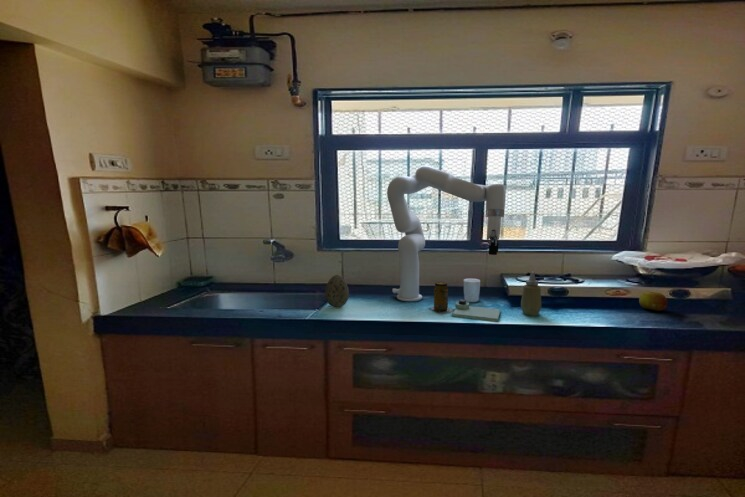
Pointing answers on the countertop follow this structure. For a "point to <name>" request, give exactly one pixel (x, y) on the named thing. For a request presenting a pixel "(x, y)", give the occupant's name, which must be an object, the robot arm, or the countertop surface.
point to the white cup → (471, 289)
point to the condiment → (441, 298)
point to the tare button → (462, 302)
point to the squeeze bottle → (531, 297)
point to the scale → (476, 312)
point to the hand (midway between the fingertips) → (493, 253)
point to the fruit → (653, 301)
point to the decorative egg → (337, 292)
